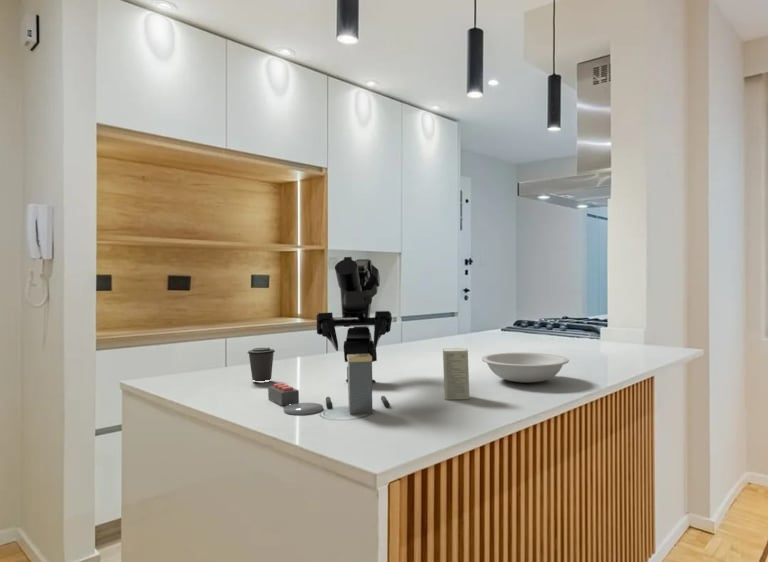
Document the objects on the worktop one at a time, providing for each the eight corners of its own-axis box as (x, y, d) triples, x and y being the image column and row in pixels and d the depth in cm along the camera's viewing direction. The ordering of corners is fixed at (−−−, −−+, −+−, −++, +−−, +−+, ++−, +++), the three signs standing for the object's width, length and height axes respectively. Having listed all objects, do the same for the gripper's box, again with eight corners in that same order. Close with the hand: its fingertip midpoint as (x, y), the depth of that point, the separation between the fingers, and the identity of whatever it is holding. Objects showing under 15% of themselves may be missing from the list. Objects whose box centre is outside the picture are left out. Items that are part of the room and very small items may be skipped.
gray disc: (312, 403, 127) (312, 400, 127) (329, 410, 119) (329, 408, 119) (277, 408, 122) (277, 406, 122) (292, 417, 115) (292, 414, 115)
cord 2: (380, 400, 128) (380, 396, 128) (385, 400, 128) (385, 395, 128) (384, 407, 121) (384, 402, 121) (389, 407, 122) (389, 402, 122)
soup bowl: (465, 379, 154) (464, 357, 154) (525, 371, 166) (524, 350, 166) (524, 394, 133) (523, 368, 133) (587, 383, 145) (587, 359, 145)
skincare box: (468, 395, 132) (467, 347, 132) (469, 400, 128) (468, 350, 128) (443, 395, 133) (442, 348, 133) (443, 399, 128) (442, 350, 128)
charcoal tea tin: (348, 409, 121) (347, 354, 121) (370, 407, 122) (369, 353, 122) (349, 414, 116) (348, 357, 116) (373, 413, 116) (372, 356, 116)
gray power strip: (268, 399, 132) (268, 383, 132) (284, 396, 135) (284, 381, 135) (281, 406, 125) (281, 389, 125) (298, 403, 127) (298, 387, 127)
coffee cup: (281, 380, 157) (280, 347, 157) (261, 385, 150) (261, 350, 150) (262, 378, 161) (261, 345, 161) (241, 382, 154) (241, 349, 154)
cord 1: (325, 401, 129) (325, 396, 129) (330, 401, 129) (330, 396, 129) (326, 408, 122) (326, 403, 122) (331, 408, 122) (331, 403, 122)
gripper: (315, 280, 130) (317, 328, 119) (390, 279, 132) (397, 326, 122) (316, 310, 138) (317, 358, 127) (386, 308, 140) (393, 355, 129)
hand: (356, 349), depth 126 cm, fingers open, 9 cm apart
